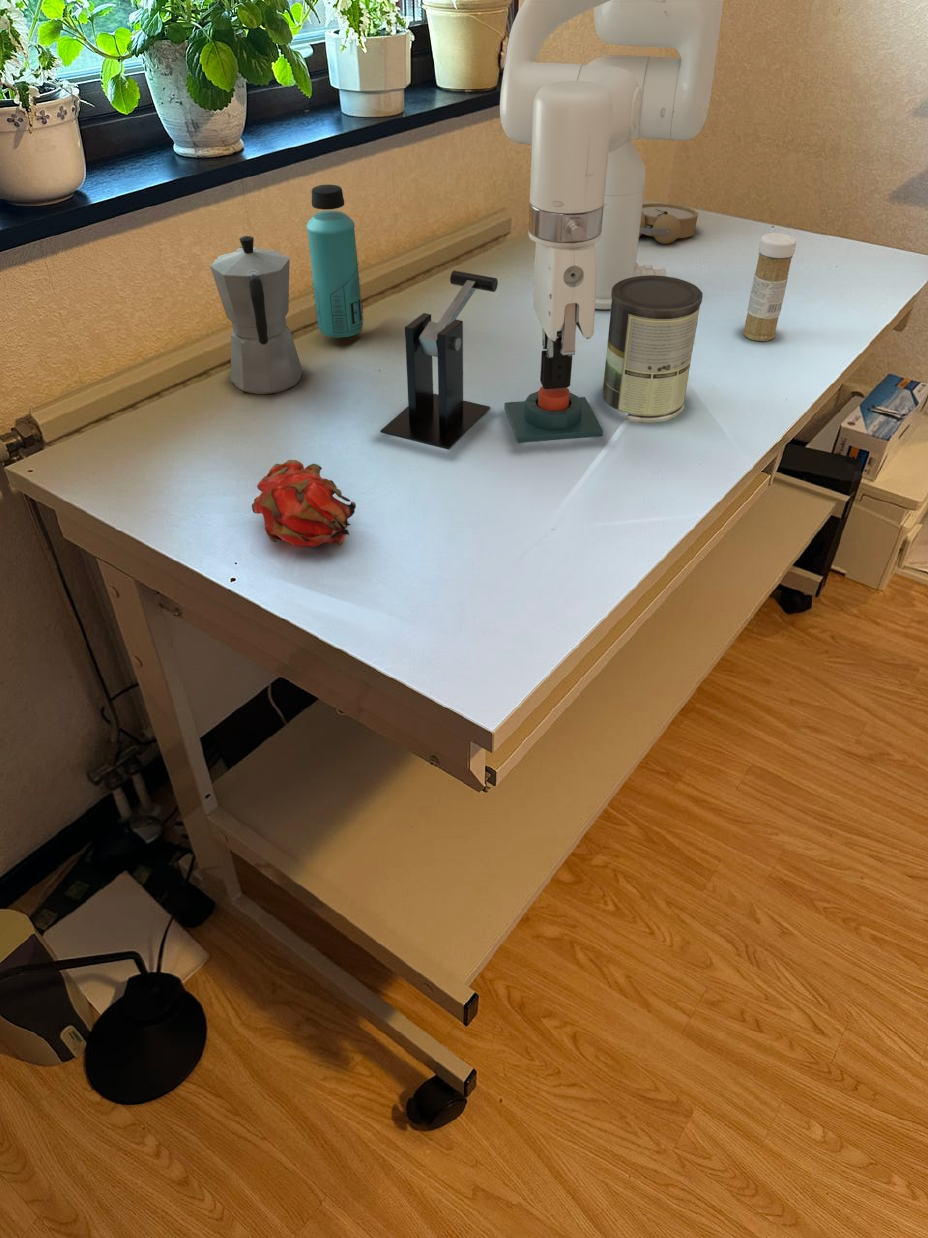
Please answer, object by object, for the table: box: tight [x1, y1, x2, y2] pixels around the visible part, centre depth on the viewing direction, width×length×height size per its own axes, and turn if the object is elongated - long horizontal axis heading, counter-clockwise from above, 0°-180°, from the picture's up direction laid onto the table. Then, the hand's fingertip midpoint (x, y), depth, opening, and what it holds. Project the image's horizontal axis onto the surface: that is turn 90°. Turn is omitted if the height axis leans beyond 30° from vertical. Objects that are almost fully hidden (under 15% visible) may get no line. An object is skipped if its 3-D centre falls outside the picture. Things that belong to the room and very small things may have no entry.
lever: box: [419, 270, 499, 358], centre depth 106 cm, size 13×6×2 cm, turn 153°
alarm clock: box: [639, 202, 699, 245], centre depth 162 cm, size 11×5×15 cm
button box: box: [503, 390, 604, 444], centre depth 110 cm, size 10×8×4 cm
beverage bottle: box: [305, 184, 365, 339], centre depth 124 cm, size 6×7×20 cm
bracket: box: [379, 312, 491, 450], centre depth 107 cm, size 11×9×13 cm
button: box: [538, 386, 571, 411], centre depth 108 cm, size 4×4×2 cm
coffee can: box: [602, 275, 704, 423], centre depth 111 cm, size 10×10×14 cm
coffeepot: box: [209, 235, 304, 395], centre depth 114 cm, size 15×9×18 cm, turn 15°
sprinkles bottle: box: [742, 232, 797, 342], centre depth 127 cm, size 5×5×13 cm
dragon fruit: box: [251, 459, 357, 548], centre depth 92 cm, size 8×8×12 cm
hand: (555, 384), depth 108 cm, fingers closed
